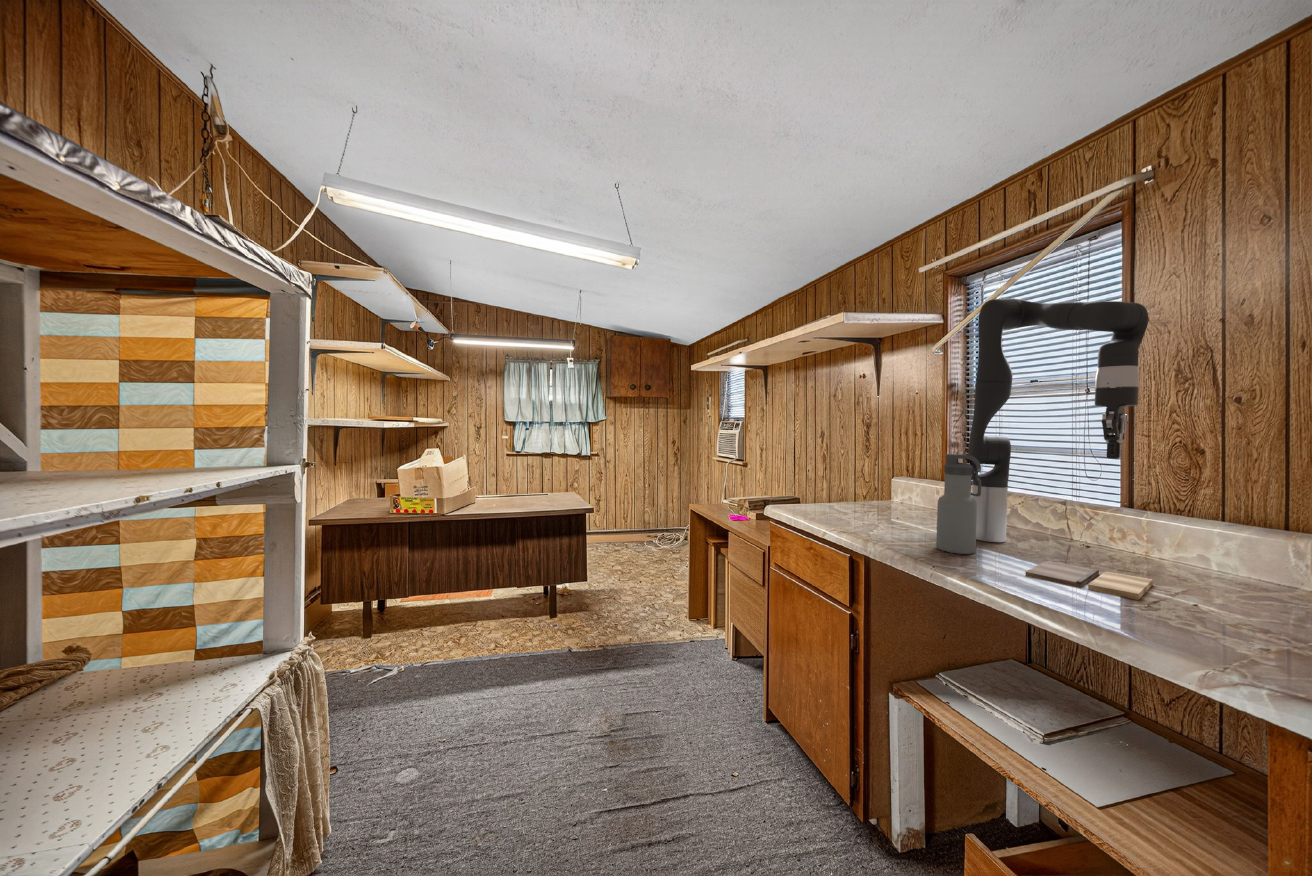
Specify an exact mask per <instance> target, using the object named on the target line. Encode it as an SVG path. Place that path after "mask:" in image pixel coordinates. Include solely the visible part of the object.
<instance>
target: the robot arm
mask: <svg viewBox="0 0 1312 876" xmlns="http://www.w3.org/2000/svg"><path fill="white" fill-rule="evenodd" d="M977 321H978V322H977V324H978V327H977V329H978V330H977V331H978V354H977V355H978V358H977V371H976V377H975V386H974V387H975V390H974V405H973V414H972V415H973V417H972V422H971V423H972V424H971V429H970V433H969V434H970V435H969V440H968V447H967V455H970V456H973V457H975V458H976V459H977V460H978V461H979V462H980V465H993V468H992V469H990V470H988V471H987V472H984V473H980V474H978V479H980V480H981V495H980V496H973V495H971V497H972V498H973V499H974V500H975V501H976V502H977V526H976V541H982V542H990V543H1005V542H1007V525H1008V523H1007V519H1008V514H1007V513H1008V491H1009V490H1008V489H1009V488H1008V487H1009V486H1008V485H1009V476H1010V464H1011V457H1012V456H1011V455H1012V445H1011V444H1012V443H1011V440H1010V439H1009V437H1008V436H1004V435H985V434H986V430H987V427H988V426H989V424H990V422H991V420H992V419H993V417H995V415H996V414H997V413H999V411H1000V410H1001V409H1002V408H1003V406H1004V405H1005V404H1006V403H1007V402H1008V400H1009V398H1010V397H1011V396H1012V395H1011V394H1012V388H1013V386H1012V385H1013V377H1014V375H1013V371H1012V368H1011V365H1010V363H1009V361H1008V359H1007V357H1006V355H1005V352H1004V350H1003V344H1002V343H1003V332H1004V331H1007V330H1013V329H1016V328H1017V329H1019V328H1023V327H1033V326H1034V327H1035V326H1037V327H1039V326H1040V327H1046V328H1049V329H1056V330H1064V331H1065V330H1066V331H1067V330H1068V331H1092V332H1093V331H1094V332H1106V333H1107V332H1108V333H1112V335H1111V339H1110V340H1109V342H1107V343H1104V344H1102V345H1100V347H1099V348H1098V352H1097V369H1096V370H1097V371H1096V375H1095V384H1094V385H1095V387H1094V405H1095V406H1096V407H1105V413H1102V419H1101V425H1102V430H1103V431H1102V432H1103V439H1104V441H1105V443H1106V458H1107V459H1117V460H1118V459H1120V458H1121V452H1122V451H1121V448H1122V444H1123V443H1122V442H1123V441H1124V440H1125V436H1126V431H1127V426H1128V423H1129V414H1128V413H1126V410H1125V408H1126V407H1136V406H1137V405H1138V404H1139V389H1140V388H1139V386H1140V373H1139V372H1140V371H1139V351H1140V350H1139V349H1140V346H1141V344H1142V342H1143V339H1144V336H1145V333H1146V330H1147V328H1148V324H1149V313H1148V310H1147V308H1146V306H1144V305H1143V304H1142V303H1139V302H1128V301H1117V300H1116V301H1115V300H1114V301H1110V300H1109V301H1108V300H1107V301H1106V300H1105V301H1095V302H1093V301H1091V302H1088V301H1086V302H1085V301H1068V302H1067V301H1066V302H1065V301H1063V302H1062V301H1061V302H1051V303H1050V302H1049V303H1044V302H1035V301H1031V300H1029V301H1028V300H1024V299H1019V298H1014V297H1013V298H1010V297H1009V298H1008V297H1007V298H995V299H989V300H987V301H986V302H985V303H983V304H982V305H981V308H980V310H979V313H978V320H977ZM977 492H978V482H977V481H976V480H973V479H972V493H974V494H977Z"/></svg>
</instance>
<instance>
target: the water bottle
mask: <svg viewBox="0 0 1312 876" xmlns="http://www.w3.org/2000/svg"><path fill="white" fill-rule="evenodd" d="M944 458H945V459H946V463H945V464H944V465H943V467H944V468H943V475H944V487H943V488H944V491H943V492H944V494H943V495H941V496H939V498H938V499H937V511H936V512H937V513H936V542H935V545H936V548H937V549H938V550H940V551H942V552H945V551H946V553H949V552H950V554H954V553H956V555H972V554H974V553H976V549H977V539H976V526H977V502H976V501H975V500H974V499H973V498H972V495H973V496H980V495H981V480H980V479H978V475H979V473H980V472H981V471H982V466H981V465H982V464H980V462H979V461H978V460H977V459H976V458H975V457H973V456H970V455H968V454H963V453H962V454H961V453H959V454H958V453H957V454H956V453H945V457H944ZM961 459H963V460H965V461H967V462H968V463H967V462H965V463H964V462H959V460H961ZM973 480H976V481H977V482H978V492H977V494H974V493H973V491H972V481H973Z"/></svg>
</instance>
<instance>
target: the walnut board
mask: <svg viewBox="0 0 1312 876" xmlns="http://www.w3.org/2000/svg"><path fill="white" fill-rule="evenodd" d="M1024 574H1025V576H1026V577H1030V578H1035V579H1040V580H1044V581H1049V582H1053V583H1058V584H1063V585H1066V586H1072V587H1076V588H1080V589H1081V588H1082V587H1084V586H1085V585H1086V584H1089V583H1090V582H1092V581H1093V580H1094V579H1096V578H1097V576H1098V577H1099V576H1100V575H1099V574H1100V569H1098V568H1093V569H1092V568H1087V567H1082V566H1078V565H1077V566H1076V565H1071V564H1066V563H1060V562H1055V561H1050V560H1045V561H1043V562H1042V563H1040V564H1037V565H1035V566H1034V567H1032V568H1029V569H1028V570H1026V571H1025V573H1024Z"/></svg>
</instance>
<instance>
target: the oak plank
mask: <svg viewBox="0 0 1312 876" xmlns="http://www.w3.org/2000/svg"><path fill="white" fill-rule="evenodd" d="M1153 585H1154V584H1153V579H1151V578H1146V577H1141V576H1140V577H1139V576H1134V575H1128V574H1123V573H1118V572H1117V573H1116V572H1111V571H1104V572H1103V573H1102V574H1100V575H1098V577H1097V576H1096V577H1095V578H1094V579H1092V580H1091V581H1090V582H1088V583H1087V590H1090V591H1095V592H1100V593H1104V594H1108V595H1114V596H1118V597H1121V598H1122V597H1123V598H1128V599H1132V600H1136V601H1137V600H1138V601H1139V600H1140V599H1141V598H1142V597H1143V596H1144V595H1145V593H1147V592H1148V591H1149V589H1150V588H1151V587H1152V586H1153Z"/></svg>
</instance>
